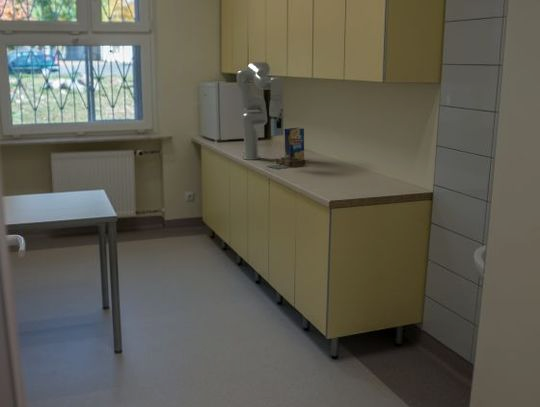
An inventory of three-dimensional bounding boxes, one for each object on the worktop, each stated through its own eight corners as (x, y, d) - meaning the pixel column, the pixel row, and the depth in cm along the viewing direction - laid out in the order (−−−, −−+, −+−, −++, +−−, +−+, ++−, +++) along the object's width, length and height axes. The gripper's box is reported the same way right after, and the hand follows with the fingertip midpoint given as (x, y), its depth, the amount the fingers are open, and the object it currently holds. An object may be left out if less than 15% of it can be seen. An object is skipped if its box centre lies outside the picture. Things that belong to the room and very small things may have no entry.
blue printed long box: (304, 161, 402) (304, 128, 396) (290, 163, 396) (290, 129, 391) (298, 159, 407) (297, 127, 402) (285, 161, 401) (284, 128, 396)
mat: (267, 166, 382) (267, 166, 382) (278, 165, 387) (278, 164, 387) (277, 169, 372) (277, 168, 372) (288, 167, 377) (288, 167, 377)
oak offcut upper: (280, 160, 390) (280, 157, 390) (286, 159, 395) (286, 156, 394) (285, 161, 388) (285, 158, 388) (290, 160, 392) (290, 157, 392)
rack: (276, 163, 391) (276, 158, 390) (290, 162, 397) (290, 156, 396) (290, 167, 378) (290, 162, 377) (305, 165, 384) (305, 160, 383)
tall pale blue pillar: (271, 135, 374) (270, 119, 372) (280, 134, 378) (280, 118, 376) (274, 136, 372) (273, 119, 369) (283, 135, 375) (283, 119, 373)
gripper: (264, 97, 374) (264, 127, 378) (279, 99, 361) (279, 129, 365) (274, 97, 378) (274, 126, 382) (289, 98, 365) (289, 128, 369)
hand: (277, 127), depth 374 cm, fingers closed on tall pale blue pillar, 3 cm apart
